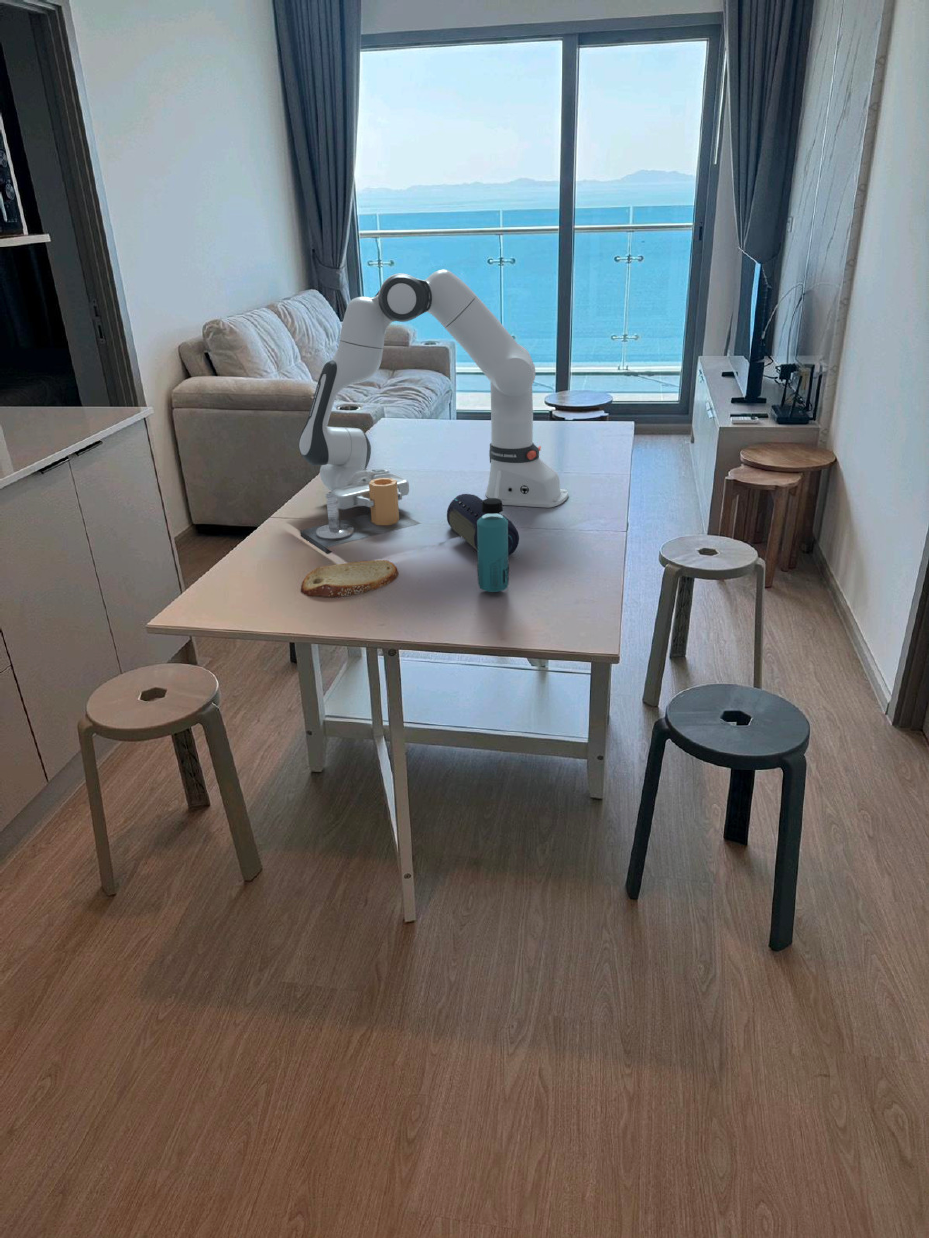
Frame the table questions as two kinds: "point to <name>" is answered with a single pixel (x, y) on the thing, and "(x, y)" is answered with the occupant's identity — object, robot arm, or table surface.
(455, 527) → the portable speaker
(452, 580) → the table surface
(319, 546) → the board
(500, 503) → the beverage bottle
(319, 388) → the robot arm
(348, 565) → the slice of bread
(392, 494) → the sleeve
